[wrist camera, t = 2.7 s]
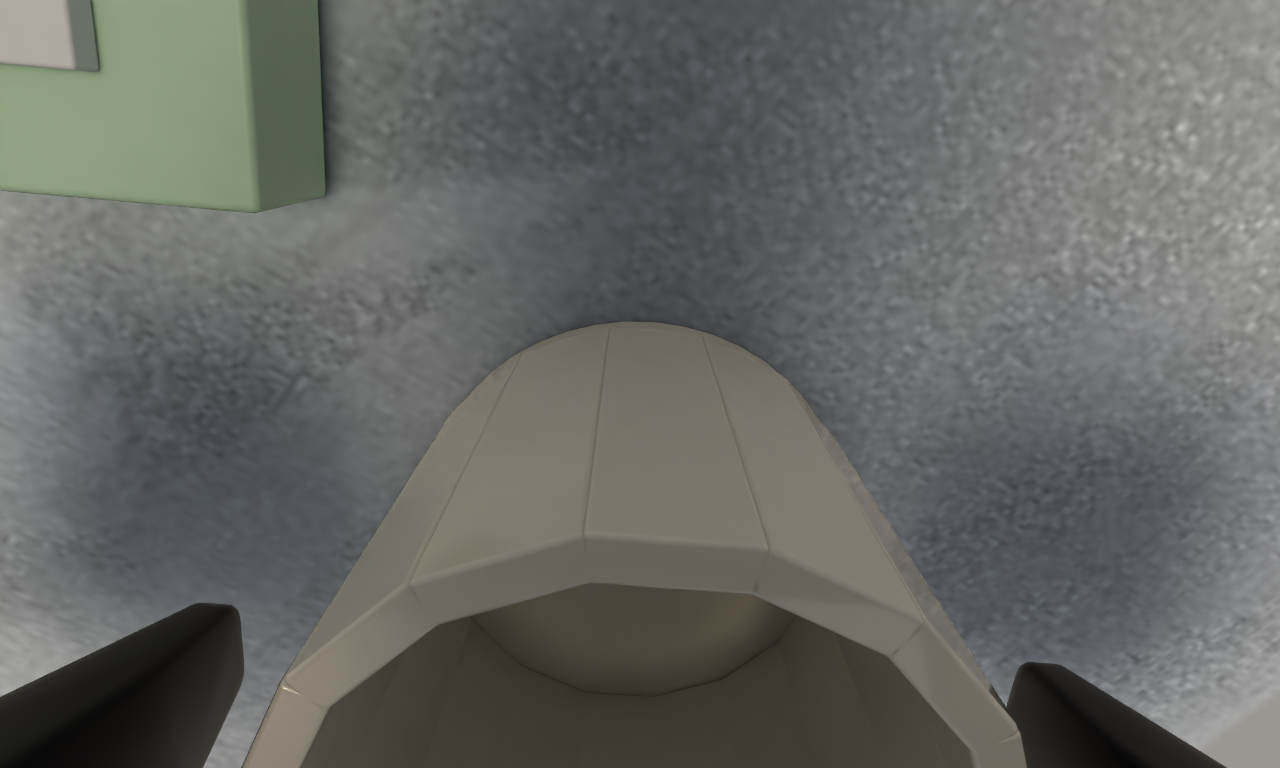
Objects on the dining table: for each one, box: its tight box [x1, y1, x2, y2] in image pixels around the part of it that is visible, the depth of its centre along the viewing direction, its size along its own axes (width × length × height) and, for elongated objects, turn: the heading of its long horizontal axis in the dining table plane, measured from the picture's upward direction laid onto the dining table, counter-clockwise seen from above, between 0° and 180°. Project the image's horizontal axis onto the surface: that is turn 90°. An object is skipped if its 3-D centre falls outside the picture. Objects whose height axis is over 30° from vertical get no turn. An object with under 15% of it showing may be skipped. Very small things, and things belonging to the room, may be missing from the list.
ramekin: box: [241, 322, 1027, 768], centre depth 9 cm, size 6×6×6 cm
